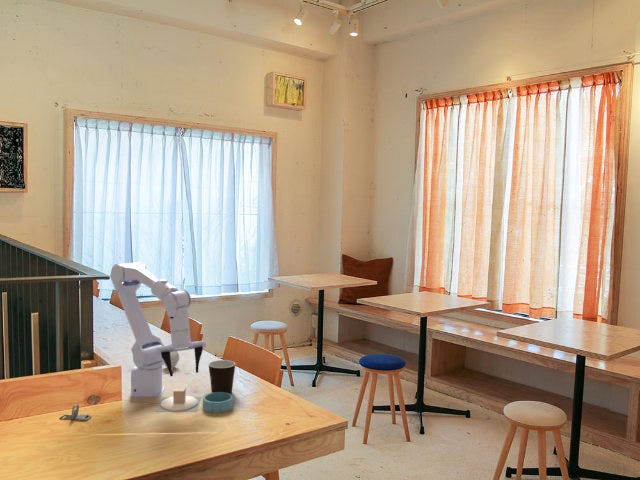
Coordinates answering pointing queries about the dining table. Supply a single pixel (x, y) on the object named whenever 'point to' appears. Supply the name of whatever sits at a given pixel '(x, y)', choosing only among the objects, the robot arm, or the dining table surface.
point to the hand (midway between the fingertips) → (184, 373)
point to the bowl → (217, 402)
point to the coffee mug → (221, 375)
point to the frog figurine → (173, 359)
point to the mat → (181, 410)
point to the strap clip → (76, 415)
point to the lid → (179, 401)
